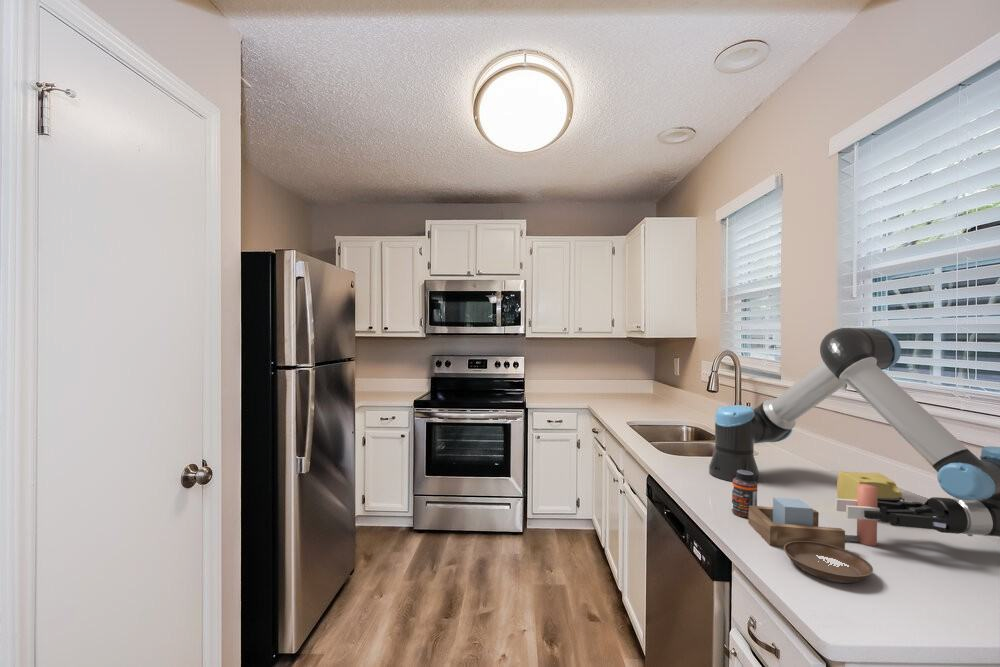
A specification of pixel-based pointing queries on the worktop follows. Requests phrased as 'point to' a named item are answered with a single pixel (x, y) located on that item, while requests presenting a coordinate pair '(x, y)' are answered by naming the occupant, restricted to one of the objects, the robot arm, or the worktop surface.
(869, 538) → the block
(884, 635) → the worktop surface
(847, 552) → the saucer
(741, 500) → the supplement bottle
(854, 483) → the cheese
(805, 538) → the wooden u-shaped frame
